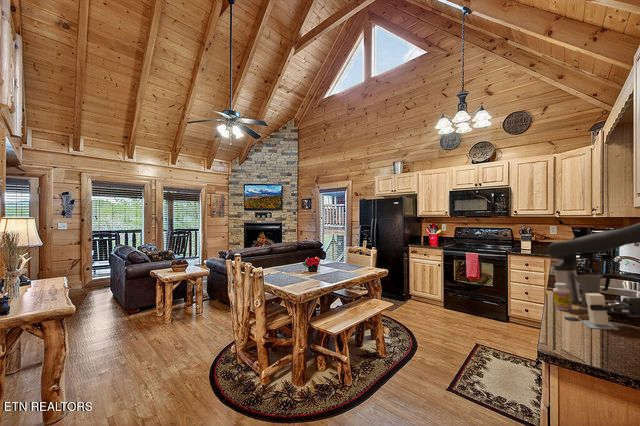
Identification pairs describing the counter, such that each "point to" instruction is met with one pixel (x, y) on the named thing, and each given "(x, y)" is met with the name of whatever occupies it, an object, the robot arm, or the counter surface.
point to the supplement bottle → (562, 297)
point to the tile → (599, 326)
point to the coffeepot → (591, 284)
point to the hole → (572, 318)
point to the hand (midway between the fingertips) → (588, 305)
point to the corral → (583, 312)
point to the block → (596, 316)
